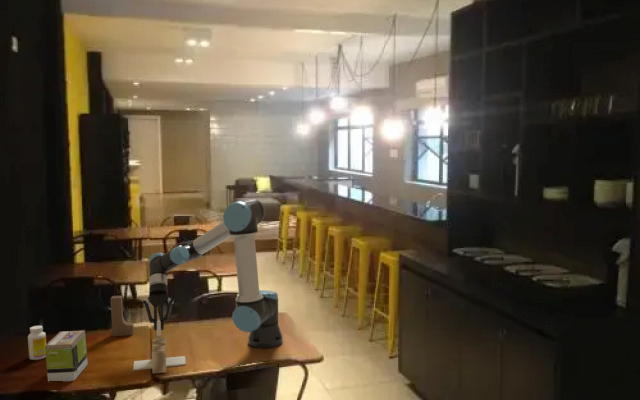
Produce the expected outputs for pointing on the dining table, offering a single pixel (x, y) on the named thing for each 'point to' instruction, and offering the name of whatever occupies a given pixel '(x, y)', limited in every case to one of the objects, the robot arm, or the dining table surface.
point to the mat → (169, 362)
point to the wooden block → (119, 318)
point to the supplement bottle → (36, 343)
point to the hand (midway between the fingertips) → (159, 337)
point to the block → (159, 355)
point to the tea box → (66, 356)
